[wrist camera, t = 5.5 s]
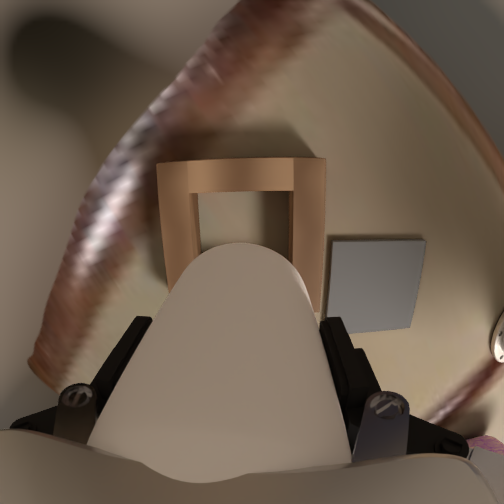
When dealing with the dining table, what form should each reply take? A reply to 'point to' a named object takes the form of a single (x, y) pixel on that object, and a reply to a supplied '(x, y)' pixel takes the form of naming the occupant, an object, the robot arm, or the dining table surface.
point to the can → (228, 376)
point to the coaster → (374, 283)
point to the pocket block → (245, 179)
